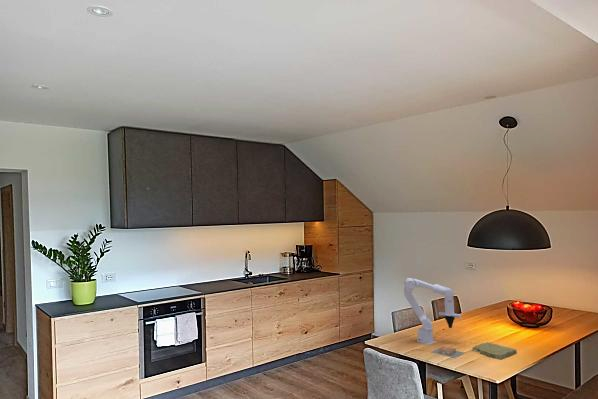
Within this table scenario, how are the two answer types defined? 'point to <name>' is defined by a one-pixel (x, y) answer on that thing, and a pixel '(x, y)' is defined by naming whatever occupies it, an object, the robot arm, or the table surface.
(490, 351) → the decorative tile
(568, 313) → the table surface
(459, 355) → the mat
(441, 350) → the slab
